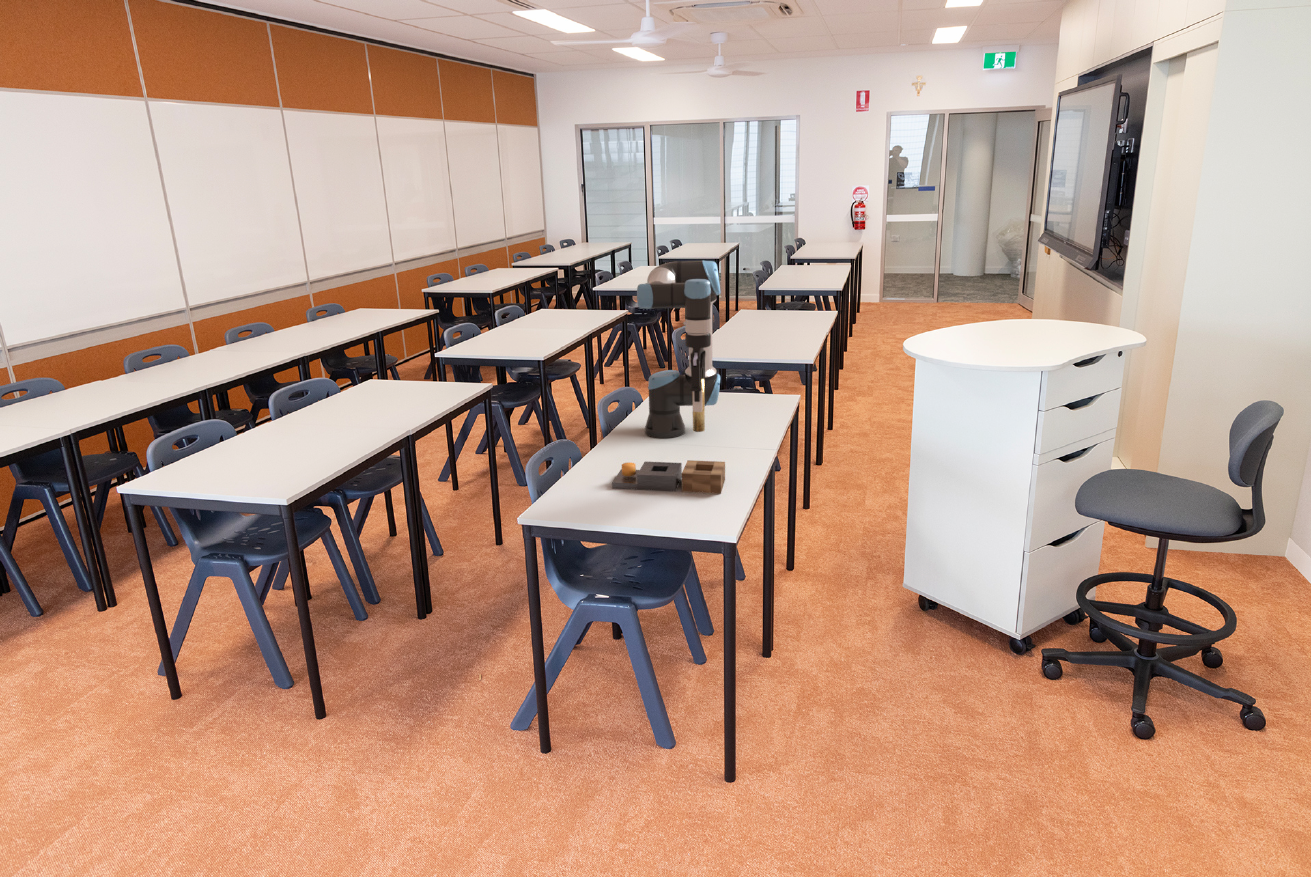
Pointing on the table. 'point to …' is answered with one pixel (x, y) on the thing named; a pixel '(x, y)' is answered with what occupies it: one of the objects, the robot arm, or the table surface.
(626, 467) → the release button
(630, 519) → the table surface
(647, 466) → the socket
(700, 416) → the gold metal bar
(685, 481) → the wooden peg hole block
